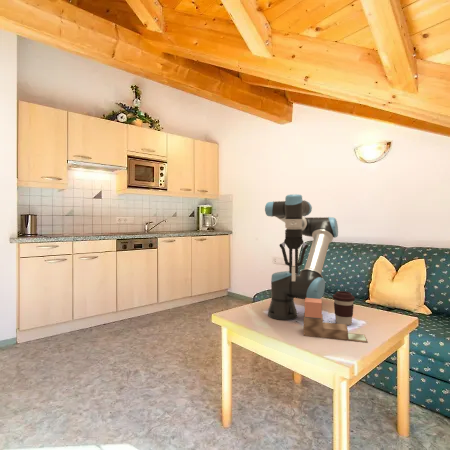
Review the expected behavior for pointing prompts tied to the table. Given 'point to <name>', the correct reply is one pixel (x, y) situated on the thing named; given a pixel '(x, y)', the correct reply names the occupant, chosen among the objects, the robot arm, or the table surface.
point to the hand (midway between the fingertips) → (293, 280)
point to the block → (313, 308)
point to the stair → (330, 330)
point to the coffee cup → (343, 307)
